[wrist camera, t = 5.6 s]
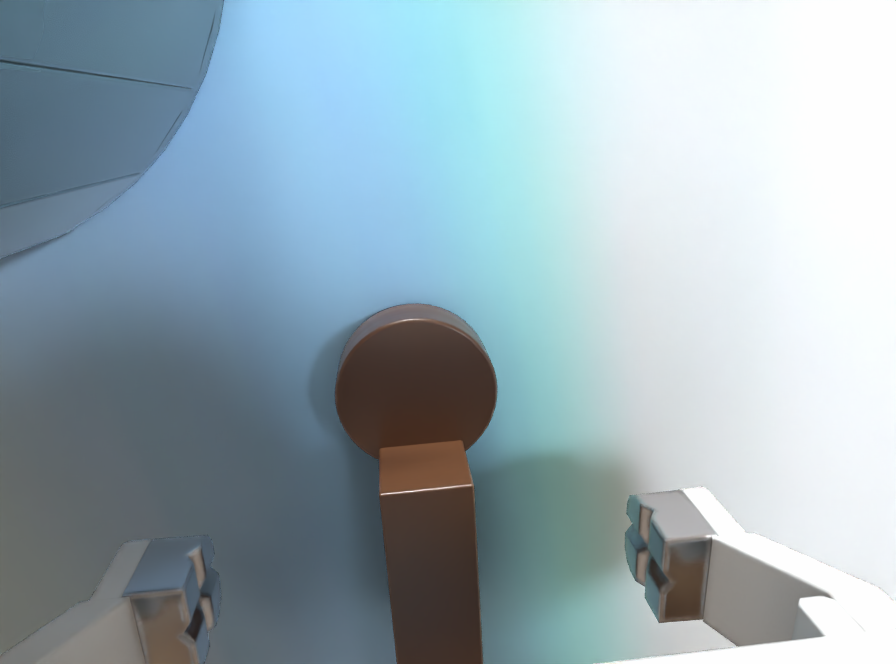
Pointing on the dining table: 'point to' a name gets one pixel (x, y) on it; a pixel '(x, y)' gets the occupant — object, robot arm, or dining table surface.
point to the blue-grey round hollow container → (90, 103)
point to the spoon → (423, 468)
